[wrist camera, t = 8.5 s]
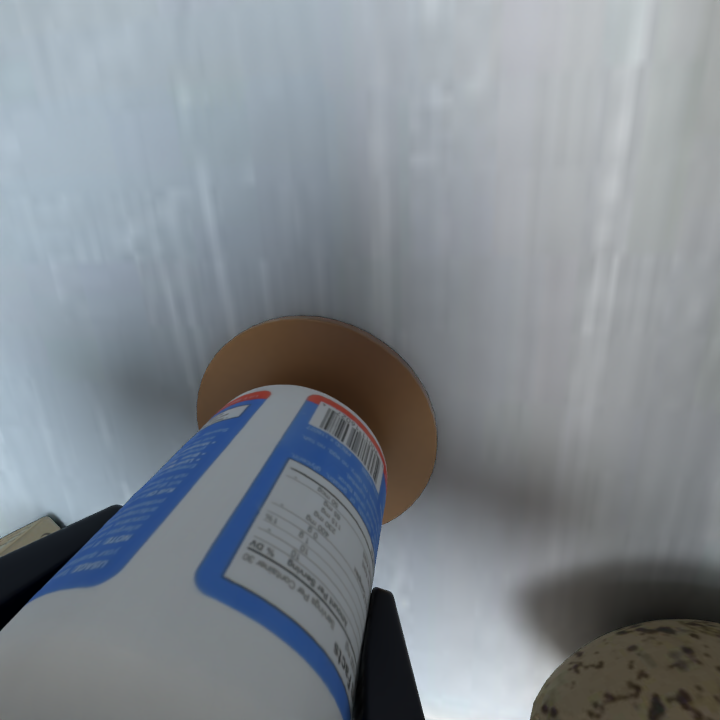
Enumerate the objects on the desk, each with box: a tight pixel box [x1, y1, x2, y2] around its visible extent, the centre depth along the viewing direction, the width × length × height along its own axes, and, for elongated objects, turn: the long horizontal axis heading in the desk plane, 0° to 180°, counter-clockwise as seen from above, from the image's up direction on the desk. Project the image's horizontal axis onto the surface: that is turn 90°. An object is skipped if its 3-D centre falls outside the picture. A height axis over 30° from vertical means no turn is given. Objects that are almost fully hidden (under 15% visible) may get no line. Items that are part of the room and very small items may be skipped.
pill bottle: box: [0, 385, 387, 720], centre depth 8 cm, size 6×5×10 cm
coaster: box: [197, 316, 437, 525], centre depth 13 cm, size 8×8×1 cm
